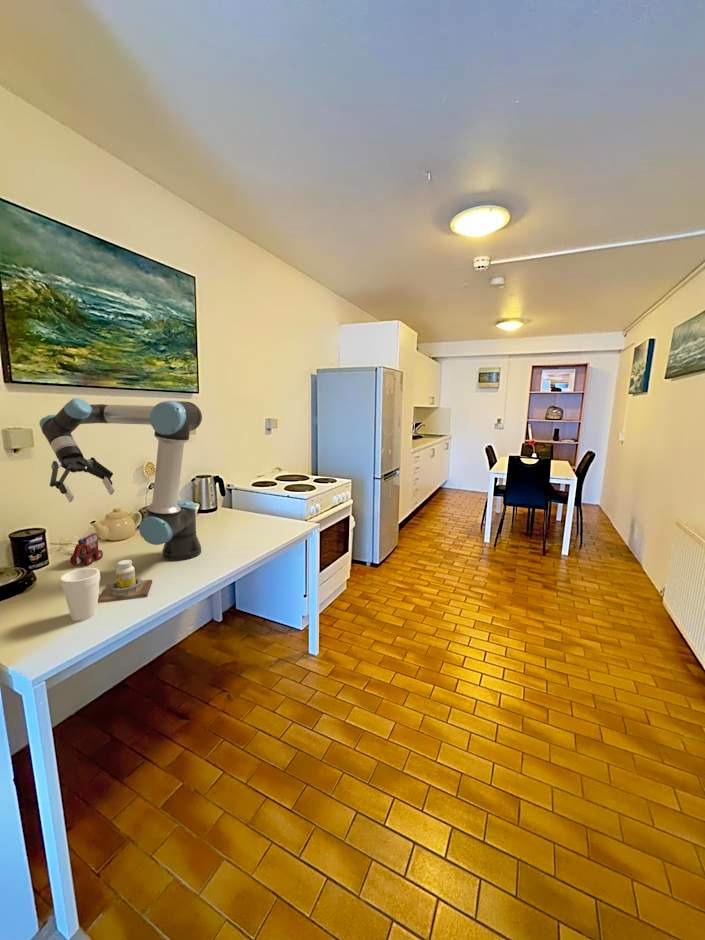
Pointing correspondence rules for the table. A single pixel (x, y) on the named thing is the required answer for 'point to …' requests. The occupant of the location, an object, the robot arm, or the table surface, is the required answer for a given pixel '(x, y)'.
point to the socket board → (125, 591)
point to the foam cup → (81, 592)
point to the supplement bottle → (125, 574)
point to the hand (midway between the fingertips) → (92, 496)
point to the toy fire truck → (86, 551)
